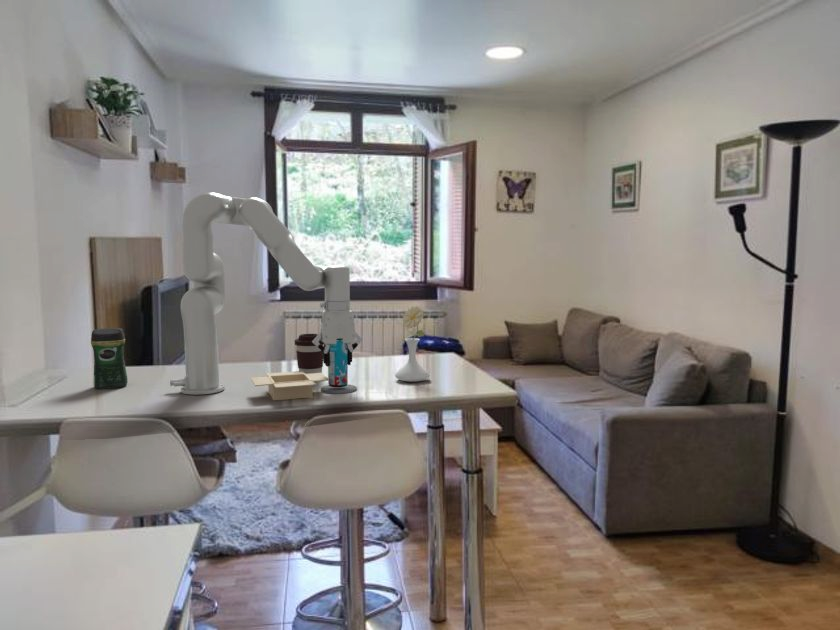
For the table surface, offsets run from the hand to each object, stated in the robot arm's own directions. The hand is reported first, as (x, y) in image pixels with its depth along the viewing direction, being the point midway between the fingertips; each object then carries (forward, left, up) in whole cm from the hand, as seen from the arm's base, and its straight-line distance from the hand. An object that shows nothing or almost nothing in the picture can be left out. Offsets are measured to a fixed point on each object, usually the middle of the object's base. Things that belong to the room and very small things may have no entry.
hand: (337, 364), depth 188 cm
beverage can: (0, 0, -7) cm, 7 cm away
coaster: (0, 0, -8) cm, 8 cm away
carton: (-15, -1, -8) cm, 17 cm away
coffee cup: (-5, +19, -8) cm, 21 cm away
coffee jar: (-66, +31, -8) cm, 73 cm away
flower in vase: (+26, +4, -8) cm, 28 cm away
